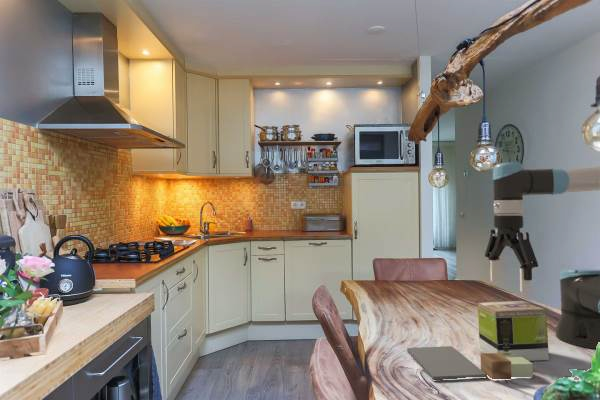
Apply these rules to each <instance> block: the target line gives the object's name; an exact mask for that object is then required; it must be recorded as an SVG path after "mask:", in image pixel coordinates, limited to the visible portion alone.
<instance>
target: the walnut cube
mask: <svg viewBox="0 0 600 400" xmlns="http://www.w3.org/2000/svg"><path fill="white" fill-rule="evenodd" d="M480 369H481V370H482V371H483V372H484V373H486V375H488V376H489V377H490V378H492V379H511V361H510V360H508V359H507V358H505V357H504V356H502V355H501V354H499V353H485V352H483V353H480ZM511 380H512V379H511Z"/></svg>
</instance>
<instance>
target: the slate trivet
mask: <svg viewBox="0 0 600 400" xmlns="http://www.w3.org/2000/svg"><path fill="white" fill-rule="evenodd" d="M406 351H407V353H408V355H409V356H410V355H411V356H412V357H413V358H412V357H411V356H410V357H411V358H412V359H413V360H414V359H415V360H414V361H415V363H416V364H417V365H418V364H419V365H420V366H421V367H422V368H423V369H422V368H421V367H420V366H419V365H418V366H419V367H420V368H421V369H422V370H423V371H424V373H427V374H428V375H429V376H430V377H431V378H432V379H433V380H443V379H457V378H466V377H487V375H486V373H484V372H483V371H482V370H481V368H480V367H478V366H477V365H476V364H475V363H473V362H472V361H471V360H470V359H468V358H467V357H466V356H465V355H463V354H462V353H461V352H459V350H457V349H456V348H455V347H454V346H452V345H449V346H448V345H447V346H443V345H442V346H428V347H427V346H426V347H425V346H422V347H407V349H406ZM427 374H426V375H427ZM428 375H427V376H428ZM429 376H428V377H429ZM430 377H429V378H430ZM431 378H430V379H431ZM432 379H431V380H432ZM433 380H432V381H433Z"/></svg>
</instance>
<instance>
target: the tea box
mask: <svg viewBox="0 0 600 400" xmlns="http://www.w3.org/2000/svg"><path fill="white" fill-rule="evenodd" d="M477 314H478V316H477V317H478V338H479V349H480V350H481V349H482V350H483V351H482V350H481V351H482V352H483V353H485V352H486V353H499V354H501V355H502V356H504V357H523V358H525V359H526V360H528V361H529V362H531V361H532V362H533V361H535V362H536V361H549V360H550V355H549V354H550V352H549V351H550V350H549V337H548V336H549V335H548V319H547V309H545V308H543V307H541V306H537V305H535V304H533V303H529V302H527V301H524V300H511V301H510V300H508V301H486V302H485V301H484V302H477Z"/></svg>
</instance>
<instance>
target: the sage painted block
mask: <svg viewBox="0 0 600 400" xmlns="http://www.w3.org/2000/svg"><path fill="white" fill-rule="evenodd" d="M505 358H507V359H508V360H510V361H511V377H533V378H534V371H533V367H534V366H533V365H534V364H533V363H532V362H531V361H528V360H526V359H525V358H523V357H505Z"/></svg>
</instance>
